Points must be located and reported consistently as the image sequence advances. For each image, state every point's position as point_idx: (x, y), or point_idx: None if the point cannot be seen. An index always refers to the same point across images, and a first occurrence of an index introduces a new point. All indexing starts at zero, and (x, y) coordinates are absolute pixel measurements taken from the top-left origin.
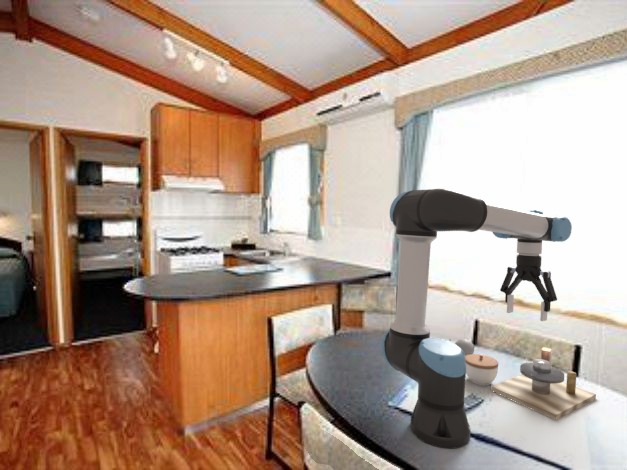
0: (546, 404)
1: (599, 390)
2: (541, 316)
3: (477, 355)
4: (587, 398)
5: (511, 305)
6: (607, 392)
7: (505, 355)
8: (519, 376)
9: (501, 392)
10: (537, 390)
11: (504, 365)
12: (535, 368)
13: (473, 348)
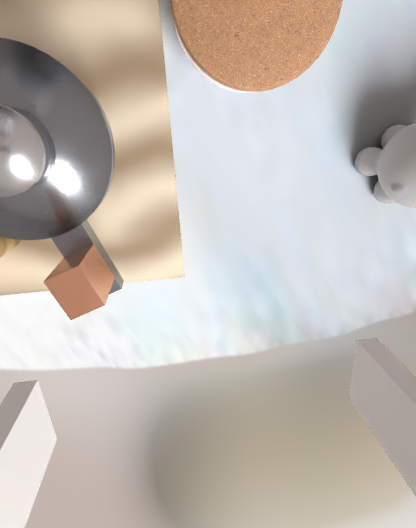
0: None
1: (25, 352)
2: (5, 418)
3: (304, 28)
4: None
5: (397, 432)
6: (8, 359)
7: (322, 331)
8: (171, 191)
9: None
10: None
11: (276, 258)
12: (9, 106)
13: (391, 180)
